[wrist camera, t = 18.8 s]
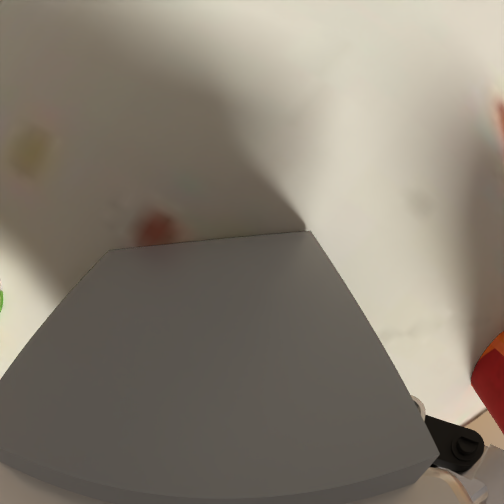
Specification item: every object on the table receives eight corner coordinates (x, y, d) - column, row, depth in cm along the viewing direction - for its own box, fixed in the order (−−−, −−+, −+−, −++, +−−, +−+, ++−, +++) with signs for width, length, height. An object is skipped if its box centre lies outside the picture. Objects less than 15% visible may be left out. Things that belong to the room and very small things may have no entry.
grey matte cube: (109, 250, 11) (-32, 430, 2) (310, 230, 11) (439, 453, 2) (156, 388, 14) (122, 543, 5) (307, 379, 14) (344, 544, 5)
